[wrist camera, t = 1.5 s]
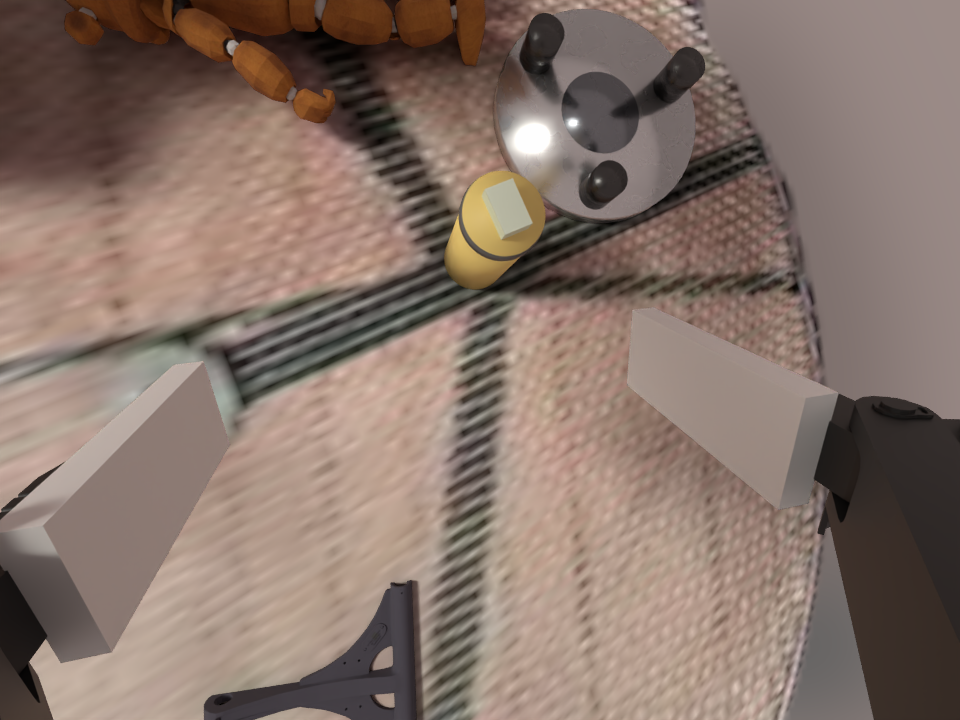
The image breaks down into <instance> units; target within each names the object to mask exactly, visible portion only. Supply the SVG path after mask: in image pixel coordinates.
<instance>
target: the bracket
mask: <svg viewBox="0 0 960 720" xmlns="http://www.w3.org/2000/svg"><path fill="white" fill-rule="evenodd" d="M389 646H393V666H392V667H389V668H385V669H380V670H374V671H369V667H370V664H371V662H372V660H373V658H374V657H375V656H376V654H377V653H378V652H380V651H381V650H383V649H384V648H387V647H389ZM359 659H360V660H359ZM388 693H394V697H395V707H394V708H388V707H383V706H380V705H379V704H377V703H376V702H375V701H374V700H373V698H372V696H371V695H375V694H388ZM226 701H229V702H227V703H225V704H223V705H219V704H220V703H222V702H226ZM297 707H305V708H315V709H322V710H327V711H331V712H334V713H337V714H340V715H343V716H346V717H348V718H350V719H351V720H417V718H416V689H415V661H414V633H413V604H412V581H411V580H410V581H407V584H406V585H403V586H396V585H395V583H391V588H390V589H387V590H386V591H385V594H384V596H383V599H382V601H381V604H380V606H379V608H378V610H377V612H376V614H375V616H374V618H373V620H372V621H371V623H370V624H369V626H368V627H367V629H366V630H365V632H364V633H363V634H362V635H361V637H360V638H359V639H358V640H357V641H356V642H355V643H354V645H353V646H352V647H351V648H350V649H349V650H348V651H347V652H346V653H345V654H343V655H342V656H341V657H339V658H338V659H336V660H335V661H334V662H332V663H331V664H329V665H327V666H326V667H324V668H323V669H321V670H318V671H316V672H314V673H312V674H310V675H308V676H306V677H304V678H302V679H301V680H300V682H296V683H290V684H283V685H277V686H270V687H264V688H257V689H251V690H244V691H238V692H231V693H225V694H218V695H212V696H211V697H209V698H208V699H207V701H206V702H205V704H204V720H254V719H258V718H261V717H264V716H267V715H270V714H274V713H277V712H280V711H284V710H288V709H292V708H297Z"/></svg>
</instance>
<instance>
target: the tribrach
mask: <svg viewBox="0 0 960 720" xmlns="http://www.w3.org/2000/svg"><path fill="white" fill-rule="evenodd" d="M704 71H705V62H704V59H703V57H702V55H701V54H700V53H699V52H698V51H697V50H696V49H694V48H691V47H684V48H681V49H680V50H679V51H678V52H677V53H676V54H675V55H674V56H672V55H671V53H670V52H669V51H668V50H667V48H666V47H665V46H664V45H663V44H662V43H661V42H660V41H659V40H658V39H657V38H656V37H655V36H654V35H652V34H651V33H650V32H648V31H647V30H646V29H645V28H643V27H642V26H640V25H638V24H637V23H635V22H633V21H631V20H629V19H627V18H625V17H623V16H620V15H617V14H614V13H611V12H607V11H601V10H596V9H576V10H568V11H564V12H560V13H557V14H554V15H551V14H548V13H542V14H538V15H536V16H535V17H534V18H533V19H532V21H531V23H530V26H529V28H528V31H526V32H525V33H524V34H523V35H522V37H521V38H520V39H519V40H518V41H517V42H516V44H515V45H514V47H513V48H512V50H511V51H510V53H509V55H508V57H507V59H506V61H505V63H504V66H503V69H502V71H501V74H500V77H499V81H498V84H497V87H496V92H495V98H494V113H493V117H494V126H495V133H496V137H497V141H498V145H499V147H500V150H501V153H502V155H503V158H504V160H505V162H506V164H507V166H508V167H509V169H510V171H511V172H513V173H516V174H519V175H520V176H522V177H524V178H526V179H527V180H528V181H529V182H531V183H532V184H533V185H534V187H535V188H536V189H537V191H538V192H539V194H540V196H541V198H542V200H543V203H544V206H545V207H547V208H548V209H550V210H552V211H554V212H555V213H557V214H559V215H562V216H564V217H567V218H570V219H572V220H576V221H581V222H585V223H597V224H601V223H613V222H618V221H623V220H626V219H629V218H632V217H634V216H636V215H638V214H640V213H642V212H644V211H645V210H647V209H648V208H650V207H651V206H653V205H654V204H656V203H657V202H658V201H660V200H661V199H663V198H664V197H665V196H666V195H667V194H668V193H669V192H670V191H671V190H672V189H673V188H674V187H675V185H676V184H677V183H678V181H679V180H680V178H681V177H682V175H683V173H684V171H685V170H686V168H687V165H688V163H689V160H690V158H691V154H692V150H693V146H694V140H695V110H694V104H693V100H692V95H691V92H690V88H691V87H692V86H693V85H694V84H695V83H696V82H697V81H698V80H699V79H700V78H701V77H702V75H703V74H704Z"/></svg>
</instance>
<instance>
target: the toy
mask: <svg viewBox="0 0 960 720" xmlns="http://www.w3.org/2000/svg"><path fill="white" fill-rule="evenodd" d="M65 1H66V2H67V3H68V4H70V5H71V6H72V7H73V8H74V9H75V11H72V12H70V13H67V14H66V17H65V21H64V24H65V30H66V31H67V32H68V33H69V34H70V35H71V36H72V37H73V38H74V39H75V40H76V41H77V42H79V43H80V44H87V45H96V44H97V42H98V41H99V40H100V38H101V37H102V35H103V33H104V31H103V29H102V28H101V26H100V25H103V26H105V27H107V28H109V29H112V30H117V31H122V32H125V33H126V34H127V35H128V36H129V37H130V38H131V39H133V40H134V41H136V42H142V43H149V42H150V43H154V44H157V45H161V44H165V43H166V42H167V41H168V40H169V36H170V30H172V31H173V32H174V33H176V34H177V35H179V36H180V37H182V38H183V39H184V41H185V42H186V43H187V45H189V46H190V47H192V48H194V49H196V50H197V51H199V52H201V53H202V54H204V55H206V56H208V57H209V58H211V59H213V60H215V61H217V62H218V63H219V62H225V61H232V63H233V65H234V67H235V69H236V70H237V71H238V72H239V73H240V75H241V76H242V77H243V78H244V79H245V80H246V81H247V82H248V83H249V84H250V85H251V87H252V88H253V89H254V90H256V91H258V92H260V93H261V94H263V95H265V96H267V97H268V98H270V99H272V100H275V101H280V102H285V103H286V102H287V101H288V100H293V107H294V111H295V112H296V114H297V115H298V116H299V117H300V118H301V119H306V120H308V121H311V122H314V123H324V122H325V121H326V120H327V118H328V117H329V116H330V115H331V113H332V111H333V109H334V105H335V103H336V102H335V95H334V93H333V91H331V90H327V89H324V90H323V94H324V95H325V96H326V97H324V96H320V95H318V94H316V93H314V92H312V91H310V90H308V89H306V88H305V89H302V90H300V91H297V90H296V83H295V80H294V78H293V76H292V74H291V72H290V71H289V69H288V68H287V67H286V66H285V65H284V64H283V63H282V61H281V60H280V59H279V58H278V57H277V56H276V54H274V53H272V52H271V51H269V50H267V49H266V48H264V47H262V46H261V45H259V44H257V43H256V42H253V41H242V42H241V43H240V44H239V43H238V42H237V41H236V39H235V37H234V35H233V34H232V32H231V30H230V28H229V27H232V28H236V29H239V30H243V31H247V32H250V33H254V34H257V35H261V36H270V35H278V34H285V33H287V32H289V31H291V30H292V29H293V28H295V29H296V30H297V31H308V32H315V31H316V30H317V29H318V28H319V27H320V26H321V25H323V30H324V31H325V32H327V33H328V34H330V35H331V36H333V37H334V38H336V39H339V40H342V41H346V42H349V43H352V44H356V45H375V44H380V43H384V42H387V41H388V39H391V40H399V39H400V38H401V39H402V41H403V42H404V43H406V44H408V45H409V46H411V47H413V48H417V47H422V46H427V45H432V44H437V43H439V42H440V41H441V40H443V39H444V38H445V37H447V36H448V35H449V34H451V33H452V32H453V30H454V23H453V19H455V28H456V33H457V38H458V42H459V47H460V51H461V56H462V60H463V62H464V63H465V64H466V65H473V66H476V63H477V60H478V56H479V52H480V48H481V45H482V41H483V35H484V28H485V21H486V15H485V4H484V0H454V2H455V5H454V6H451V3H450V0H400V1H399V2H398V3H397V4H396V6H395V15H394V16H393V13H392V12H391V10H390V8H389V7H388V6H387V4H386V3H385V1H384V0H65ZM99 24H100V25H99ZM228 26H229V27H228Z"/></svg>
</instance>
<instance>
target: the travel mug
mask: <svg viewBox="0 0 960 720" xmlns="http://www.w3.org/2000/svg"><path fill="white" fill-rule="evenodd" d="M544 224H545V207H544V203H543V200H542V198H541V196H540V194H539V192H538V191H537V189H536V188H535V187H534V185H533V184H532V183H531V182H529V181H528V180H527V179H526V178H524V177H522V176H520V175H519V174H516V173H513V172H509V171H495V172H490V173H487V174H485V175H483V176H481V177H480V178H478V179H477V180H475V181H474V182H473V183H472V184H471V185H470V186H469V188H468V189H467V191H466V192H465V194H464V196H463V199H462V202H461V205H460V208H459V215H458V217H457V220H456V223H455V225H454V228H453V231H452V233H451V236H450V239H449V242H448V244H447V247H446V250H445V255H444V262H445V267H446V270H447V272H448V274H449V276H450V277H451V278H452V279H453V280H454V281H455V282H456V283H457V284H459V285H460V286H462V287H464V288H467V289H475V290H476V289H483V288H486V287H488V286H490V285H491V284H493V283H494V282H495V281H496V280H497V279H498V278H499V277H500V276H501V275H502V274H503V273H504V272H505V271H506V270H507V269H508V268H509V267H510V266H511V265H512V264H513V263H515V262H516V261H517V260H518V259H519V258H520V257H521V256H523V255H524V254H526V253H527V252H528V251H529V250H530V249H531V248H532V247H533V246H534V245H535V244H536V243H537V242H538V240H539V238H540V236H541V234H542V232H543V228H544Z"/></svg>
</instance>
